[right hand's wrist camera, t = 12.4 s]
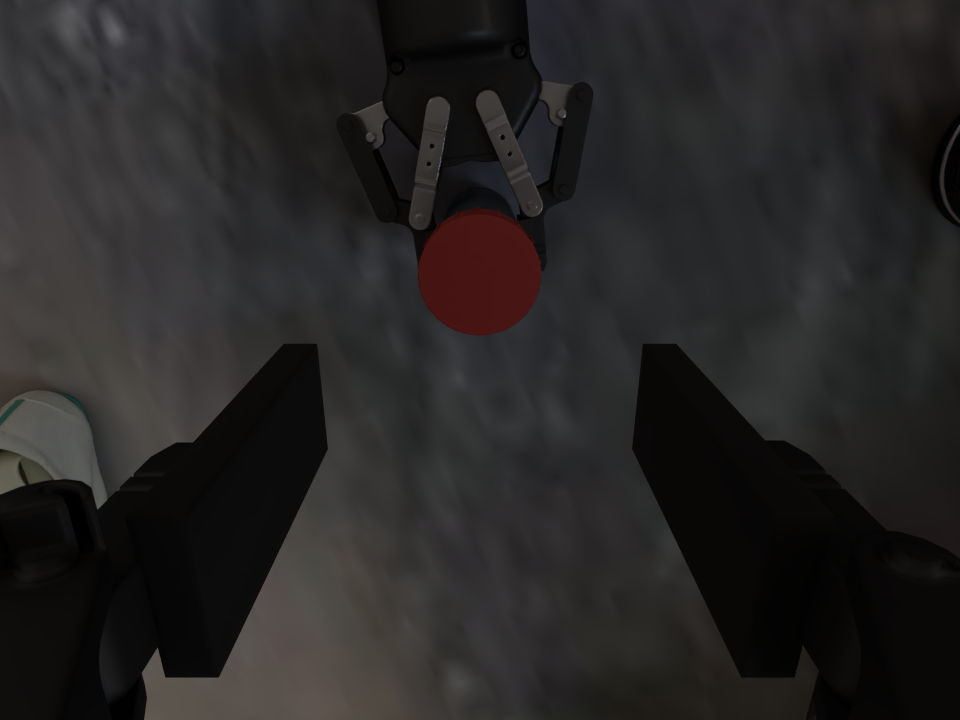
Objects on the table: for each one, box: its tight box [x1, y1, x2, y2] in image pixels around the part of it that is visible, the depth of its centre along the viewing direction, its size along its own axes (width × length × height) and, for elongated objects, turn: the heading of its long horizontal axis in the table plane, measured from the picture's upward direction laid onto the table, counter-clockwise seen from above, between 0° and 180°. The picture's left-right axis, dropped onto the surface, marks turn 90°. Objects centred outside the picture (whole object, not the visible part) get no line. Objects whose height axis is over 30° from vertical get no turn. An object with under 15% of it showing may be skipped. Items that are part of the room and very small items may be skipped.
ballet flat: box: [0, 390, 108, 510], centre depth 45 cm, size 8×24×8 cm, turn 6°
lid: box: [418, 207, 541, 335], centre depth 27 cm, size 5×5×2 cm
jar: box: [443, 188, 516, 221], centre depth 33 cm, size 5×5×15 cm
